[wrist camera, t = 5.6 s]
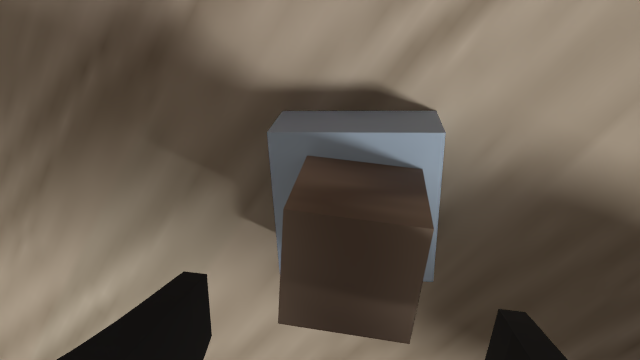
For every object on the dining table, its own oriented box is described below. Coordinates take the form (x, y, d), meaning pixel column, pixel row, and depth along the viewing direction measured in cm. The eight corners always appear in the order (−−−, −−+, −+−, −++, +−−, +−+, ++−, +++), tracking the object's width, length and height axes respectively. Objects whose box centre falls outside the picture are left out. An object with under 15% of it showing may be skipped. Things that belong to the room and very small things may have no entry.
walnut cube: (422, 169, 15) (434, 229, 12) (404, 265, 17) (409, 343, 13) (307, 155, 16) (283, 209, 12) (300, 250, 17) (278, 323, 14)
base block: (435, 108, 17) (445, 132, 15) (425, 239, 20) (432, 281, 17) (283, 109, 18) (267, 132, 15) (293, 235, 21) (280, 274, 18)
